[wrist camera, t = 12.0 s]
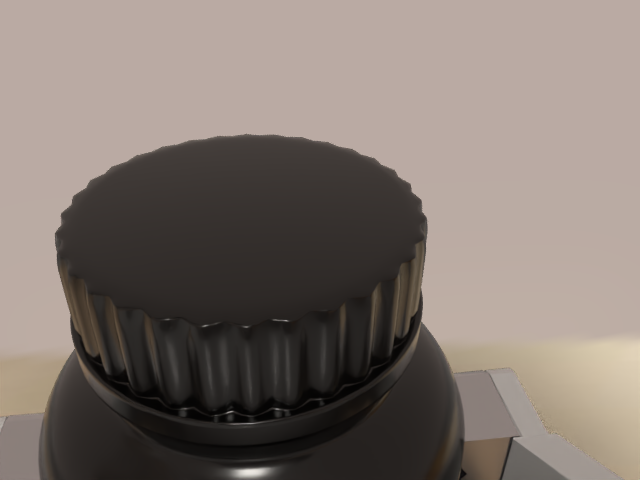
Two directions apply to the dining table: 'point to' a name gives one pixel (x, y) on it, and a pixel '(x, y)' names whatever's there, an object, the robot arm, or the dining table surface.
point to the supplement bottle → (249, 322)
